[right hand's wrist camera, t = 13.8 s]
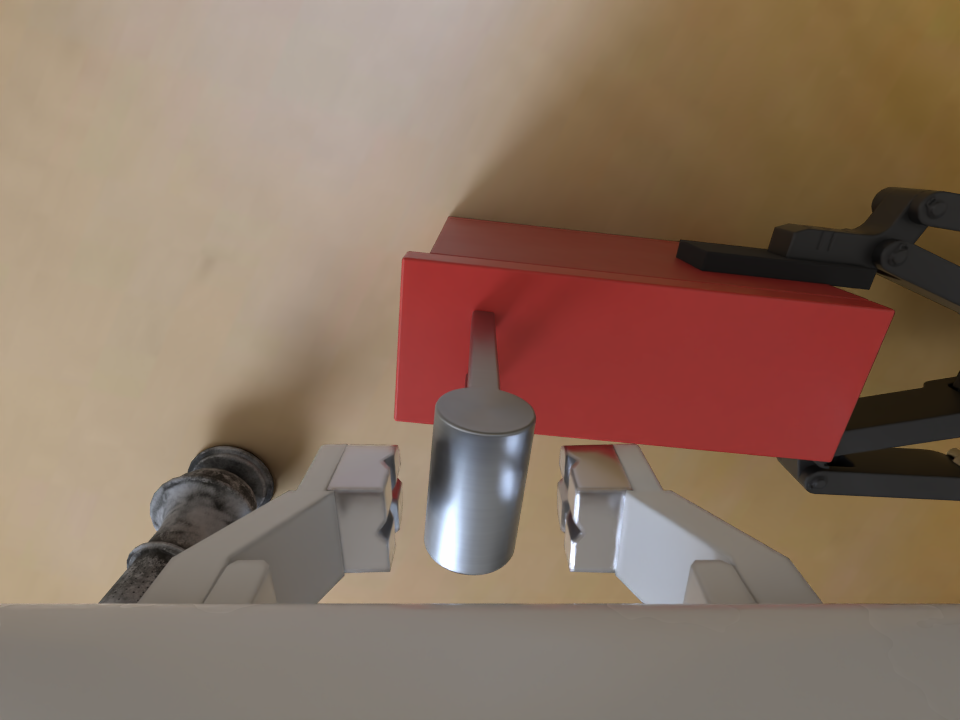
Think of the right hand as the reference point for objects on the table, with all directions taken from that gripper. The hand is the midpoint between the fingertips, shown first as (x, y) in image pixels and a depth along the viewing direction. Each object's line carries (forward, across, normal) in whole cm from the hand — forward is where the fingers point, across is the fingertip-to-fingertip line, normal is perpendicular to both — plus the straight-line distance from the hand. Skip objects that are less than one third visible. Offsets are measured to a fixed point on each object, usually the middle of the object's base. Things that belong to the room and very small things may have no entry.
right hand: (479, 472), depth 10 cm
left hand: (+12, -8, +1) cm, 14 cm away
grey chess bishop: (+18, +16, +13) cm, 27 cm away
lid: (+8, -5, +1) cm, 9 cm away
